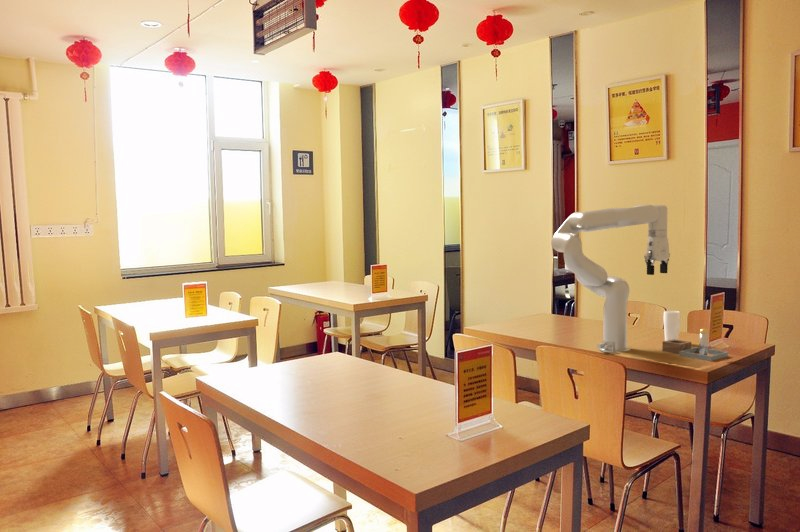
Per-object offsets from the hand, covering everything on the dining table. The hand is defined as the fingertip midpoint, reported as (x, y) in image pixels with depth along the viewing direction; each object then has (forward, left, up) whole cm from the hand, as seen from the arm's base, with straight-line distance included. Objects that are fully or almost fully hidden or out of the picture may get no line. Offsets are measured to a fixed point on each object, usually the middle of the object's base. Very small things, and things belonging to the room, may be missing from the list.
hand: (657, 273), depth 275 cm
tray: (-4, -24, -32) cm, 40 cm away
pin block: (-4, -12, -32) cm, 35 cm away
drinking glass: (+10, -1, -32) cm, 34 cm away
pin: (-4, -23, -32) cm, 40 cm away
